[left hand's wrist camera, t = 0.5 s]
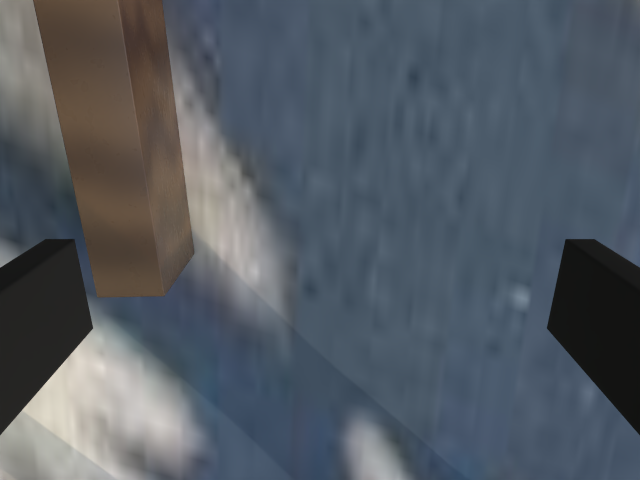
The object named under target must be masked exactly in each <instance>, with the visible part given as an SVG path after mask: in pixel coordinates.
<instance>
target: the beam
mask: <svg viewBox="0 0 640 480" xmlns="http://www.w3.org/2000/svg"><path fill="white" fill-rule="evenodd" d="M33 1H34V6H35V11H36V15H37V20H38V24H39V29H40V34H41V38H42V43H43V48H44V52H45V57H46V61H47V66H48V71H49V75H50V80H51V85H52V89H53V94H54V98H55V103H56V108H57V112H58V117H59V122H60V126H61V131H62V135H63V140H64V145H65V149H66V154H67V159H68V163H69V168H70V172H71V177H72V182H73V186H74V191H75V195H76V200H77V205H78V209H79V214H80V219H81V223H82V228H83V232H84V237H85V242H86V246H87V251H88V256H89V260H90V265H91V269H92V274H93V279H94V283H95V288H96V293H97V297H143V296H165V295H166V293H167V292H168V290H169V289H170V288H171V286H172V285H173V283H174V282H175V280H176V279H177V278H178V276H179V275H180V273H181V272H182V270H183V269H184V268H185V266H186V265H187V263H188V262H189V260H190V259H191V258H192V256H193V255H194V248H193V240H192V233H191V225H190V217H189V209H188V201H187V194H186V186H185V178H184V170H183V162H182V154H181V147H180V139H179V131H178V123H177V115H176V107H175V100H174V92H173V84H172V76H171V68H170V60H169V53H168V45H167V37H166V29H165V21H164V13H163V6H162V0H33Z"/></svg>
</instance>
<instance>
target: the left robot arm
mask: <svg viewBox="0 0 640 480" xmlns="http://www.w3.org/2000/svg"><path fill="white" fill-rule="evenodd" d="M92 329H93V326H92V321H91V316H90V311H89V307H88V302H87V297H86V292H85V288H84V283H83V278H82V273H81V269H80V264H79V259H78V254H77V250H76V245H75V240H74V239H45V240H44V241H42V242H41V243H39V244H37V245H36V246H34V247H33V248H31V249H29V250H28V251H26V252H25V253H23V254H21V255H20V256H18V257H17V258H15V259H13V260H12V261H10V262H9V263H7V264H5V265H4V266H2V267H1V268H0V435H1V434H2V432H3V431H4V430H5V429H6V428H7V427H8V426H9V424H10V423H11V422H12V421H13V420H14V419H15V418H16V416H17V415H18V414H19V413H20V412H21V411H22V409H23V408H24V407H25V406H26V405H27V404H28V403H29V401H30V400H31V399H32V398H33V397H34V396H35V395H36V393H37V392H38V391H39V390H40V389H41V388H42V386H43V385H44V384H45V383H46V382H47V381H48V380H49V378H50V377H51V376H52V375H53V374H54V373H55V372H56V370H57V369H58V368H59V367H60V366H61V365H62V363H63V362H64V361H65V360H66V359H67V358H68V357H69V355H70V354H71V353H72V352H73V351H74V350H75V349H76V347H77V346H78V345H79V344H80V343H81V342H82V340H83V339H84V338H85V337H86V336H87V335H88V334H89V332H90V331H91V330H92ZM547 329H548V330H549V331H550V332H551V334H552V335H553V336H554V337H555V338H556V339H557V340H558V342H559V343H560V344H561V345H562V346H563V347H564V349H565V350H566V351H567V352H568V353H569V354H570V355H571V357H572V358H573V359H574V360H575V361H576V362H577V363H578V365H579V366H580V367H581V368H582V369H583V370H584V372H585V373H586V374H587V375H588V376H589V377H590V378H591V380H592V381H593V382H594V383H595V384H596V385H597V386H598V388H599V389H600V390H601V391H602V392H603V393H604V395H605V396H606V397H607V398H608V399H609V400H610V401H611V403H612V404H613V405H614V406H615V407H616V408H617V409H618V411H619V412H620V413H621V414H622V415H623V416H624V418H625V419H626V420H627V421H628V422H629V423H630V424H631V426H632V427H633V428H634V429H635V430H636V431H637V432H638V434H639V435H640V268H639V267H638V266H636V265H635V264H633V263H631V262H630V261H628V260H627V259H625V258H623V257H622V256H620V255H619V254H617V253H615V252H614V251H612V250H611V249H609V248H607V247H606V246H604V245H603V244H601V243H599V242H598V241H596V240H595V239H566V240H565V245H564V250H563V254H562V259H561V264H560V269H559V273H558V278H557V283H556V288H555V292H554V297H553V302H552V307H551V311H550V316H549V321H548V326H547Z"/></svg>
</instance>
